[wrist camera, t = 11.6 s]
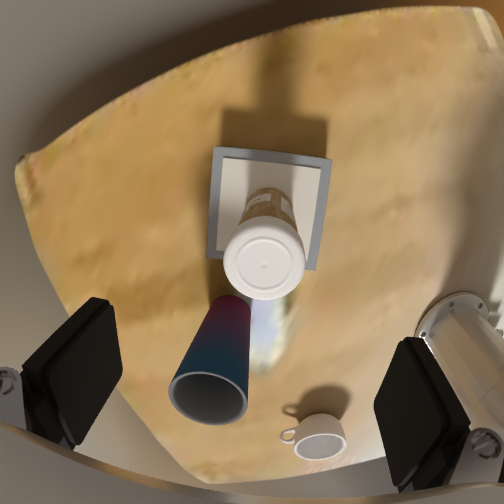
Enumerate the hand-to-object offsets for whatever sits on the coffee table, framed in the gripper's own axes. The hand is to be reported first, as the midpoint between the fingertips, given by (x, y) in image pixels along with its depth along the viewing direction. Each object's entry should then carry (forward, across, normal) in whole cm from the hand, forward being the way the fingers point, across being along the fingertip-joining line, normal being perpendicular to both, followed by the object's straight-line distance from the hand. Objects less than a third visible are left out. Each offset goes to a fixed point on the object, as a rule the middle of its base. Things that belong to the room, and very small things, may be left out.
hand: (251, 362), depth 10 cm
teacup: (+26, -11, +33) cm, 43 cm away
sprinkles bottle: (+22, 0, 0) cm, 22 cm away
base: (+26, 0, 0) cm, 26 cm away
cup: (+26, +3, +14) cm, 30 cm away
